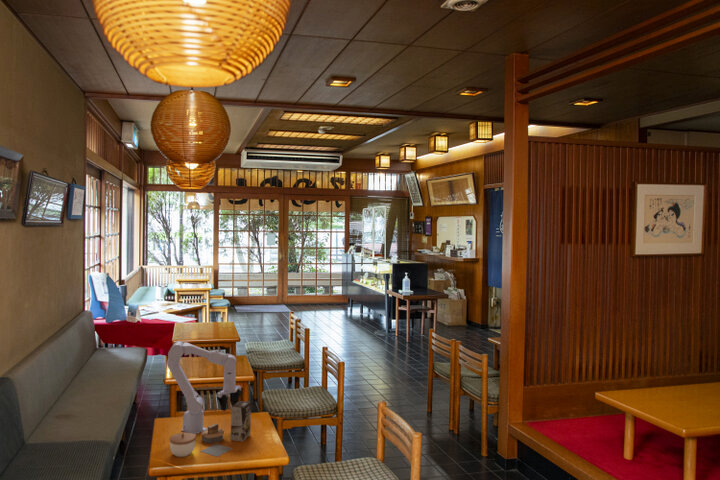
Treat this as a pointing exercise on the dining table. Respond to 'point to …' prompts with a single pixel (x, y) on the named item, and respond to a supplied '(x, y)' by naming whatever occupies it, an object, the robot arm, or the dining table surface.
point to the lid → (212, 432)
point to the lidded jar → (182, 444)
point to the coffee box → (240, 420)
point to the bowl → (212, 439)
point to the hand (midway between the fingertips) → (229, 408)
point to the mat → (216, 450)
